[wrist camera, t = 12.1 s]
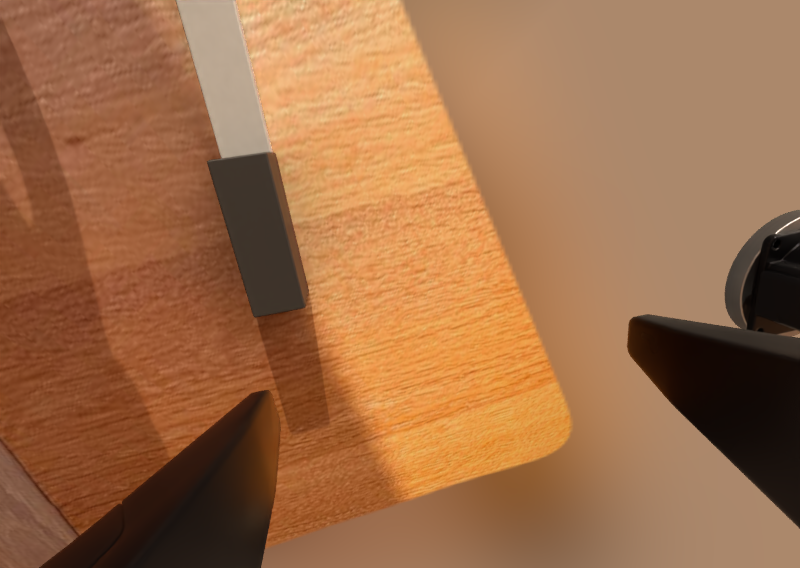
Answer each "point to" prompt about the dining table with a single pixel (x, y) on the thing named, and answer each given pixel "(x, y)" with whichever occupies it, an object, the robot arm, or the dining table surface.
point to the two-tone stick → (244, 159)
